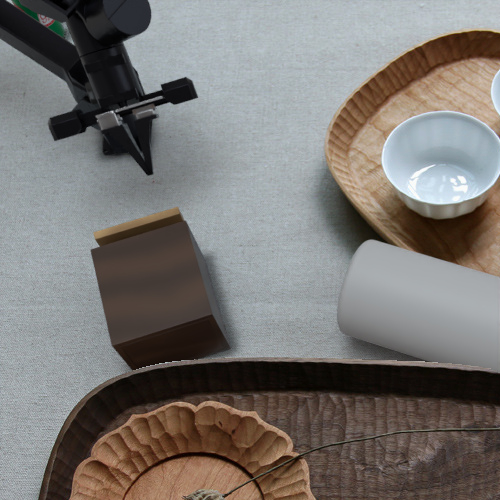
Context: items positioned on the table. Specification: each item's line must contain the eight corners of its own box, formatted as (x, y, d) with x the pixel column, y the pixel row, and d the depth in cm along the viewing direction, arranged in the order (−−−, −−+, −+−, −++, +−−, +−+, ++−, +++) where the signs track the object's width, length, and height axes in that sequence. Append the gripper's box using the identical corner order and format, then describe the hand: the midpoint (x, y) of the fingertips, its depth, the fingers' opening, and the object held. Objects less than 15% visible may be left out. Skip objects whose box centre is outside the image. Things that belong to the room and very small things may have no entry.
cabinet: (117, 287, 112) (90, 249, 103) (205, 260, 113) (185, 220, 104) (138, 378, 106) (111, 345, 98) (231, 348, 108) (212, 313, 99)
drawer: (113, 257, 113) (91, 224, 106) (192, 233, 114) (175, 199, 107) (134, 346, 107) (112, 318, 100) (217, 320, 108) (201, 290, 101)
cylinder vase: (341, 349, 107) (523, 407, 102) (328, 303, 95) (533, 367, 91) (375, 271, 111) (552, 324, 107) (367, 218, 99) (565, 275, 95)
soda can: (59, 50, 130) (24, -14, 118) (30, 46, 130) (-8, -18, 119) (70, 27, 131) (36, -39, 120) (41, 23, 132) (5, -42, 121)
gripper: (177, 35, 110) (217, 150, 116) (41, 75, 108) (90, 190, 114) (173, 28, 100) (218, 155, 106) (23, 72, 98) (78, 199, 104)
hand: (150, 175), depth 108 cm, fingers closed
